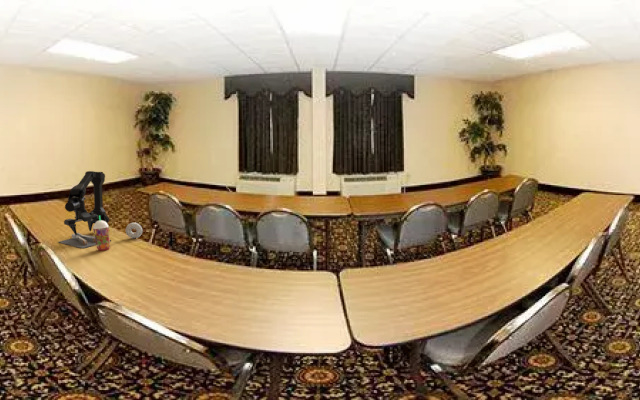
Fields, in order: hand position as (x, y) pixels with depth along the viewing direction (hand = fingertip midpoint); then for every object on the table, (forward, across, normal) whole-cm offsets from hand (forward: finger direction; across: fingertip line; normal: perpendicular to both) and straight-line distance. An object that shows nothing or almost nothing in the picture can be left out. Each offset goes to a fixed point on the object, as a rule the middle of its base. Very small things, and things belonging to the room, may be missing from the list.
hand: (83, 233), depth 297 cm
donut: (+5, +19, -24) cm, 31 cm away
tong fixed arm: (+4, 0, -2) cm, 5 cm away
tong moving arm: (+4, -4, -3) cm, 6 cm away
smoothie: (+5, -5, -29) cm, 30 cm away
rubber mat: (+5, -1, -3) cm, 6 cm away
